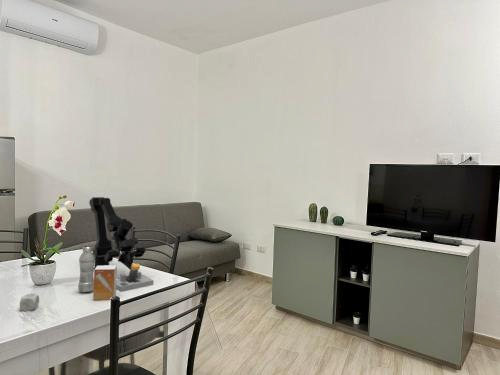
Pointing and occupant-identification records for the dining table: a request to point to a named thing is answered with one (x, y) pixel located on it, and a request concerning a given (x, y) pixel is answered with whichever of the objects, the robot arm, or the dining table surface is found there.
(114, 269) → the small box
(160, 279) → the dining table surface
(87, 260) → the plastic bottle
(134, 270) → the lever
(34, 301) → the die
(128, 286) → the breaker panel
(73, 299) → the dining table surface
